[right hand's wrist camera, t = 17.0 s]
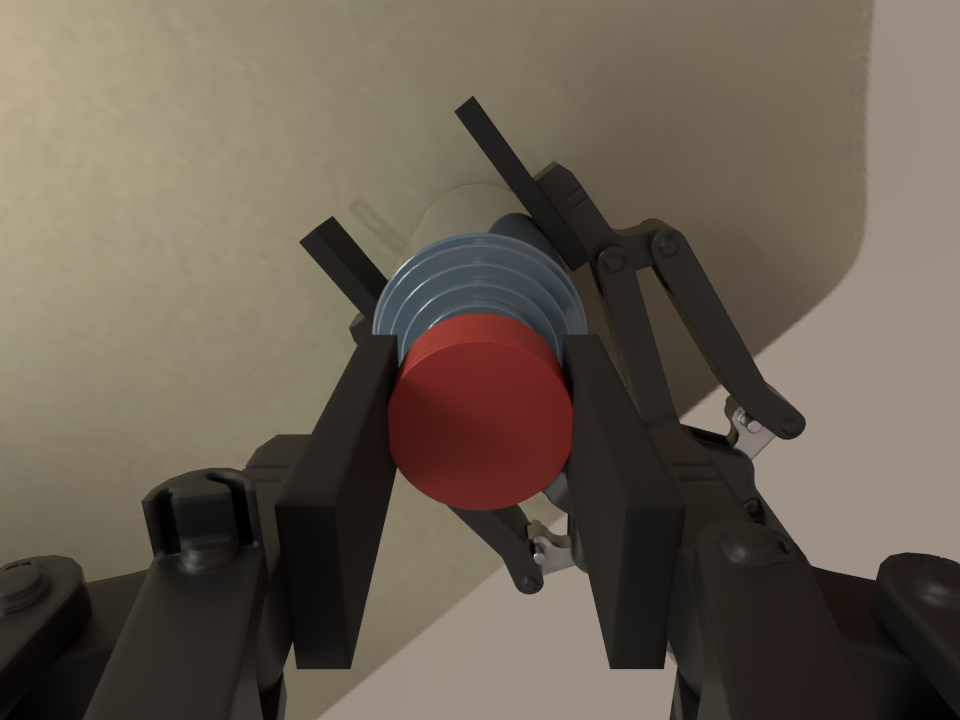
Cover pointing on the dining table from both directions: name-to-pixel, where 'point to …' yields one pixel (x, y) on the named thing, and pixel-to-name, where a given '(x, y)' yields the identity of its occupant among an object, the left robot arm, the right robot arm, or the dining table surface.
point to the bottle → (479, 271)
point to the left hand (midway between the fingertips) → (388, 169)
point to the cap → (480, 413)
